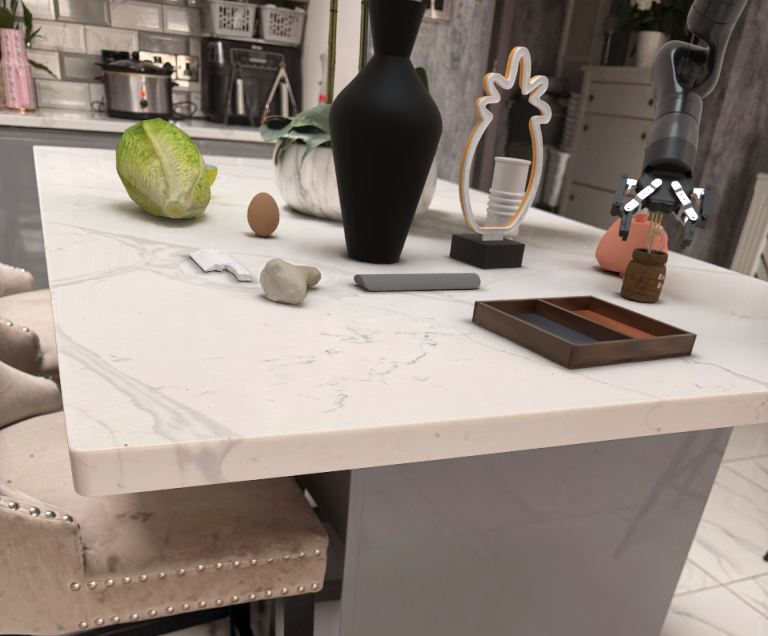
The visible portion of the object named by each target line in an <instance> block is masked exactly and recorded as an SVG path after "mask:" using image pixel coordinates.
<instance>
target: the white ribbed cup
mask: <svg viewBox="0 0 768 636" xmlns="http://www.w3.org/2000/svg"><path fill="white" fill-rule="evenodd" d="M494 161H495V162H494V163H495V164H494V171H493V176H492V183H491V187H490V188H489V190H488V192H489V193H490V194H489V195H488V200H489V201H487V204H486V205H487V206H488V207H486V209H485V212H487V213H486V217H485V221H484V226H483V227H502V226H506V225H507V224H508V223H509V222H510V221H511V219H512V218H513V216H514V215H515V213H516V212H517V210H518V208H519V206H520V204H521V202H522V200H523V198H524V196H525V193H526V191H525V190H526V184H527V180H528V175H529V168H530V166H531V165H532V161H531V160H527V159H521V158H515V157H505V156H494ZM519 231H520V225H519V226H518V227H517V228H516V229H515V230H514V231H512V232H510V233H508V234H504V236H503V238H507V239H510V240H513V241H514V239H513V237H517V236H518V235H519Z"/></svg>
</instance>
